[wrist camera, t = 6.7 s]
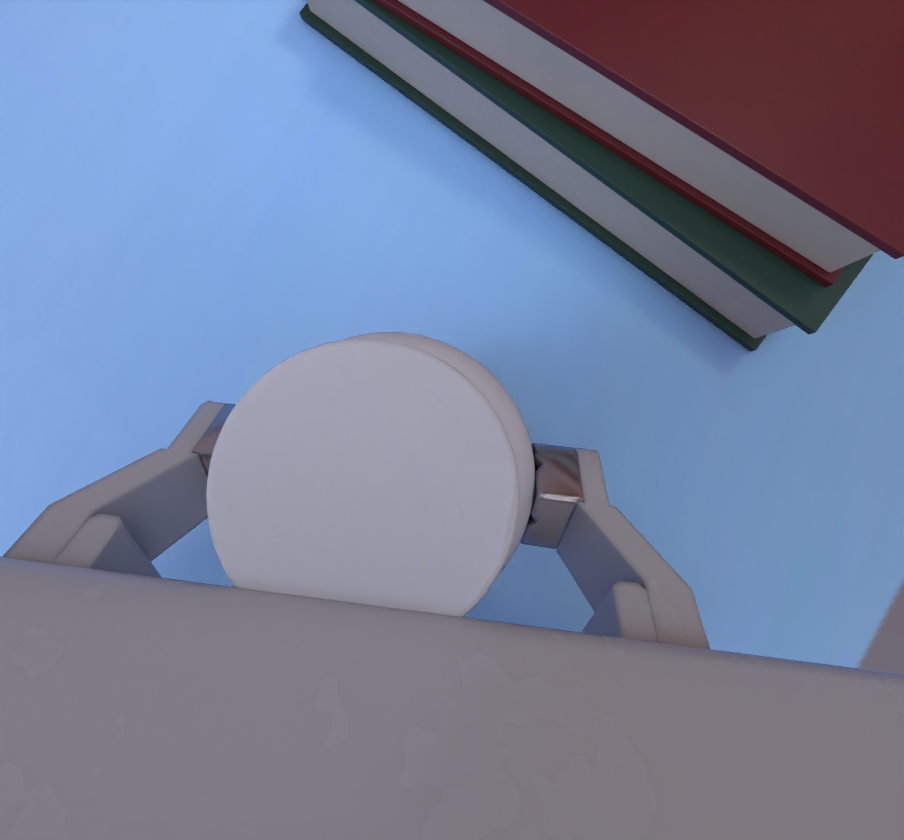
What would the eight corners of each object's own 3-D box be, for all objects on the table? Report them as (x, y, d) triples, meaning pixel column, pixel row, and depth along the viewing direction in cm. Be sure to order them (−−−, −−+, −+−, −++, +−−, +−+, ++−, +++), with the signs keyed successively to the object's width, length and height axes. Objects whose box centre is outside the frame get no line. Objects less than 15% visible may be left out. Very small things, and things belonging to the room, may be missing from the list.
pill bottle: (391, 347, 18) (293, 203, 7) (529, 428, 18) (655, 413, 7) (308, 486, 18) (71, 567, 7) (447, 569, 18) (438, 791, 7)
